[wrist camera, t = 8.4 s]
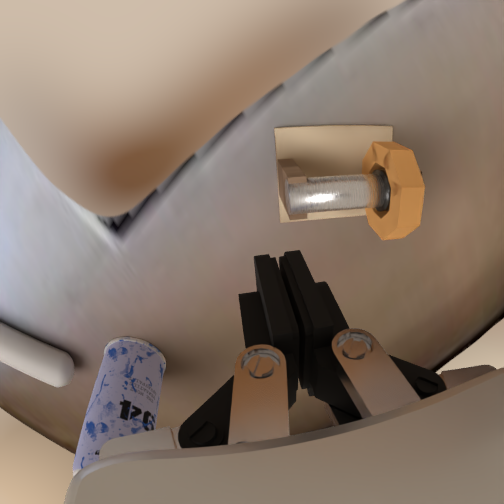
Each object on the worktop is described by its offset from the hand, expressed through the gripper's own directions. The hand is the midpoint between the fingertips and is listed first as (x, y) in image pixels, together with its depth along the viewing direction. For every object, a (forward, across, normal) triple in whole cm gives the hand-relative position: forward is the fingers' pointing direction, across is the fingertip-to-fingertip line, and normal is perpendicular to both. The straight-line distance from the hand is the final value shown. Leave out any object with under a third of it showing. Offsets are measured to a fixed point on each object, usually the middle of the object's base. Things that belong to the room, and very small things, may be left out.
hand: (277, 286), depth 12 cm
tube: (+17, +35, +15) cm, 42 cm away
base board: (+15, -8, +1) cm, 17 cm away
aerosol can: (+16, +15, +21) cm, 30 cm away
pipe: (+11, -8, +1) cm, 14 cm away
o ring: (+13, -10, +1) cm, 17 cm away
